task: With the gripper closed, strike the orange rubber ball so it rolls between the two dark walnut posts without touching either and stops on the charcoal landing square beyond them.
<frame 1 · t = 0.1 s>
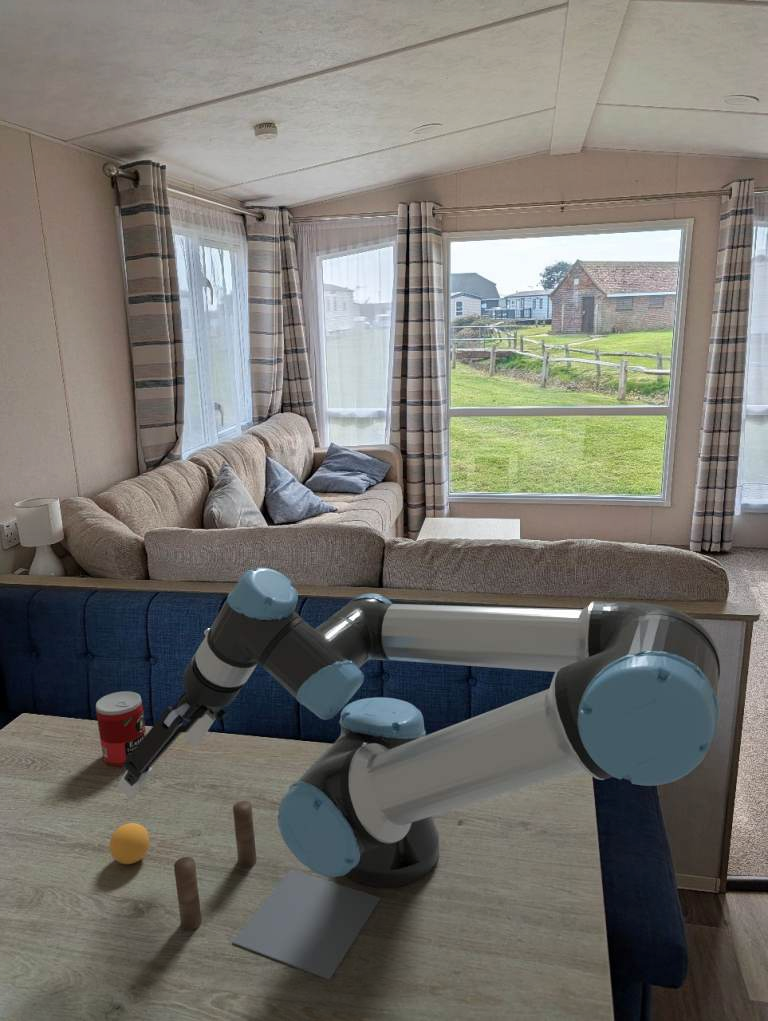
hand: (159, 764, 107), 15 cm above the table, tool tilted 35°, fingers open, 13 cm apart
canned food: (125, 756, 138), on the table
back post: (247, 860, 110), on the table
front post: (191, 922, 98), on the table
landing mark: (308, 920, 98), on the table
ball: (129, 843, 110), on the table
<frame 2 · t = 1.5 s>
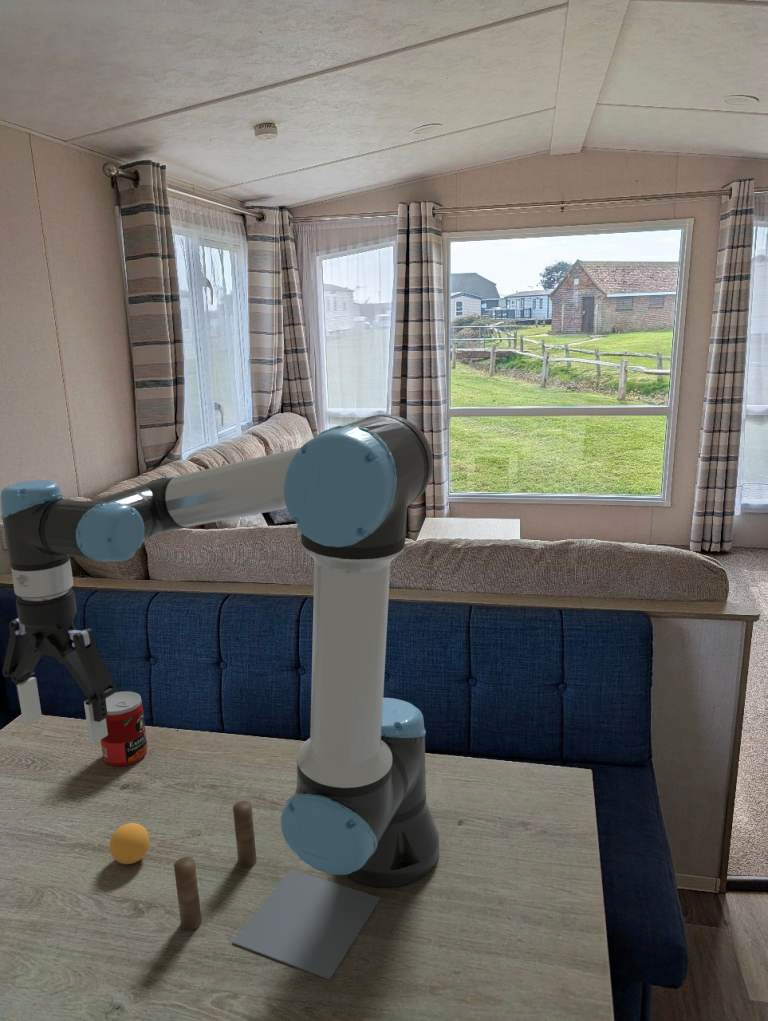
hand: (65, 730, 110), 19 cm above the table, tool pointing down, fingers open, 12 cm apart
nothing on the table moved.
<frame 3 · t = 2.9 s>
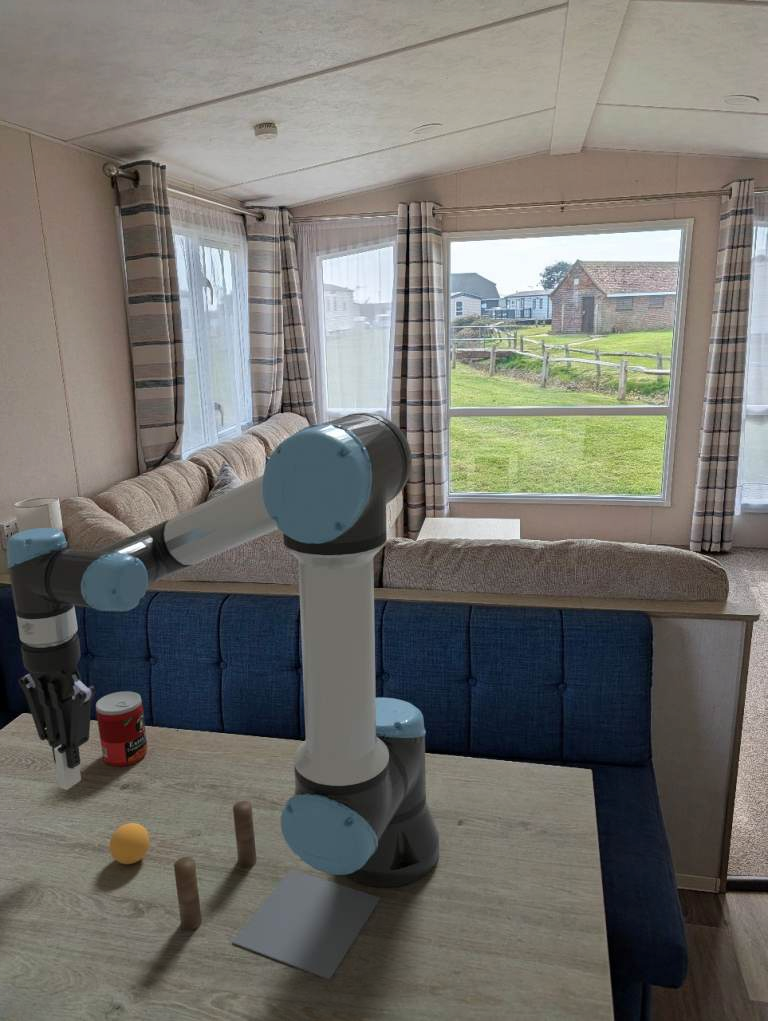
hand: (70, 783, 113), 10 cm above the table, tool pointing down, fingers closed
nothing on the table moved.
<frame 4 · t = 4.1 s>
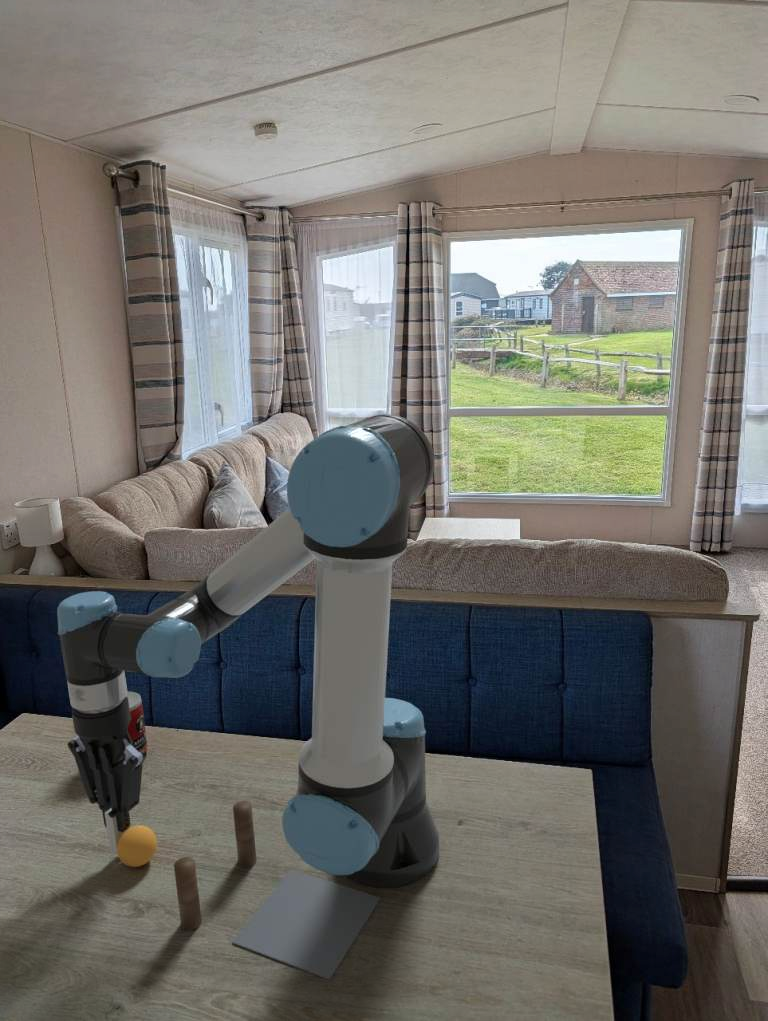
hand: (120, 846, 111), 2 cm above the table, tool pointing down, fingers closed
ball: (137, 845, 109), on the table, touching gripper
everything else where it was.
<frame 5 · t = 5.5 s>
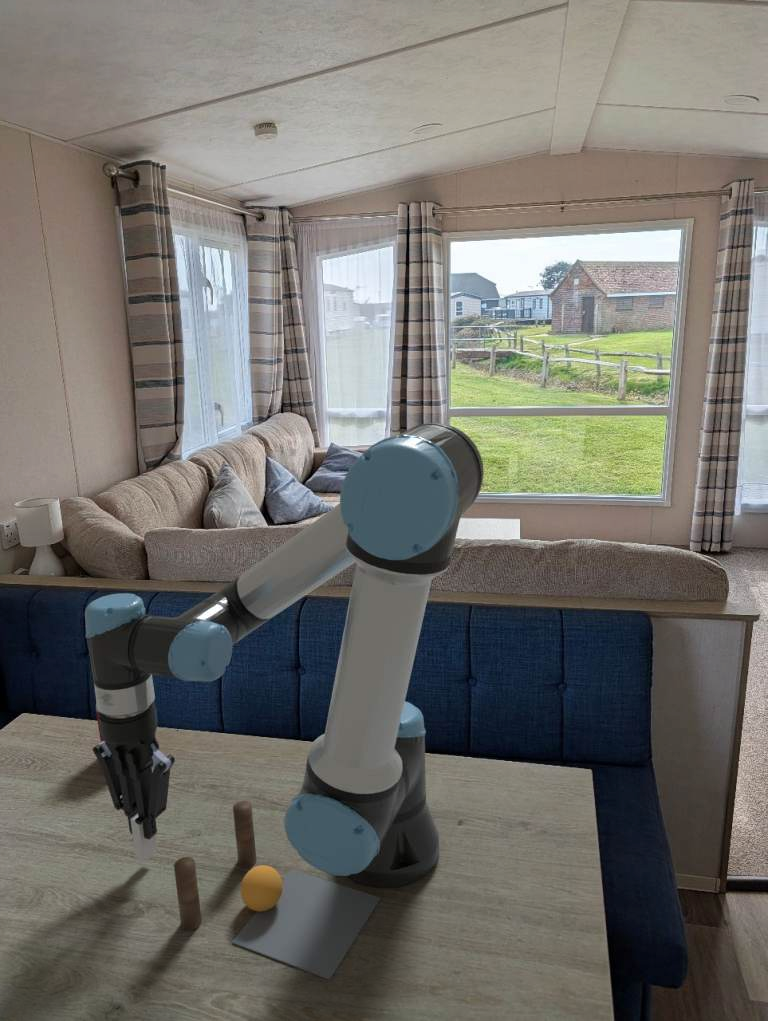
hand: (146, 853, 109), 2 cm above the table, tool pointing down, fingers closed
ball: (261, 888, 100), on the table
everything else where it was.
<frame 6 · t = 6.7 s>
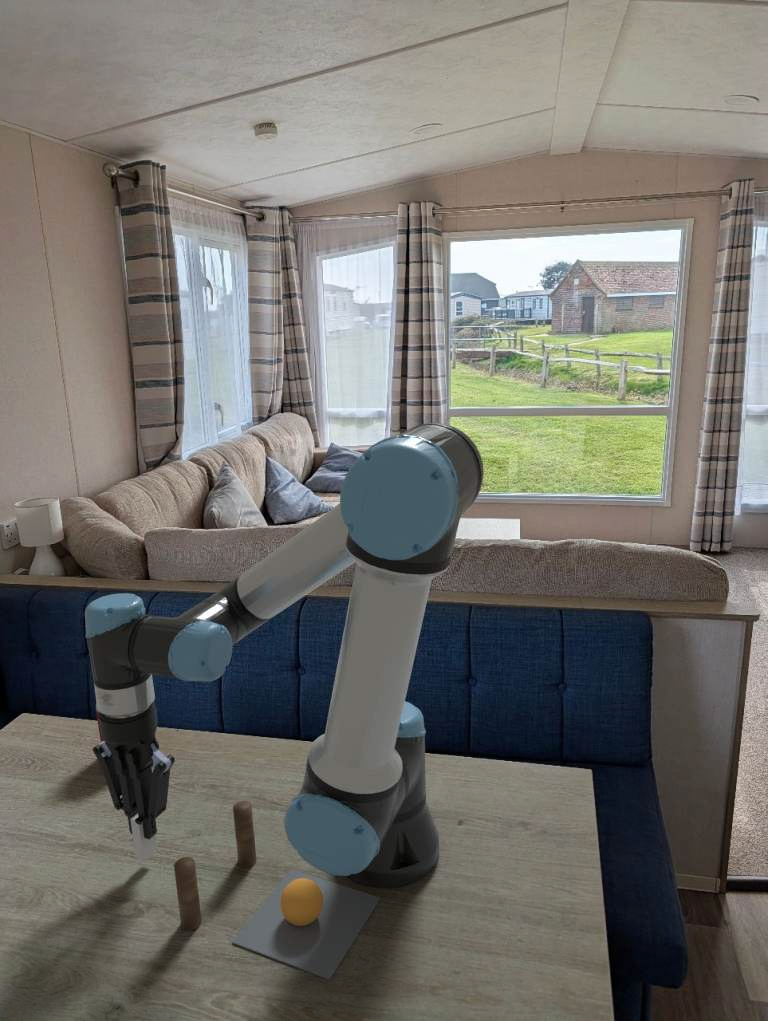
hand: (146, 853, 109), 2 cm above the table, tool pointing down, fingers closed
ball: (301, 901, 98), on the table
everything else where it was.
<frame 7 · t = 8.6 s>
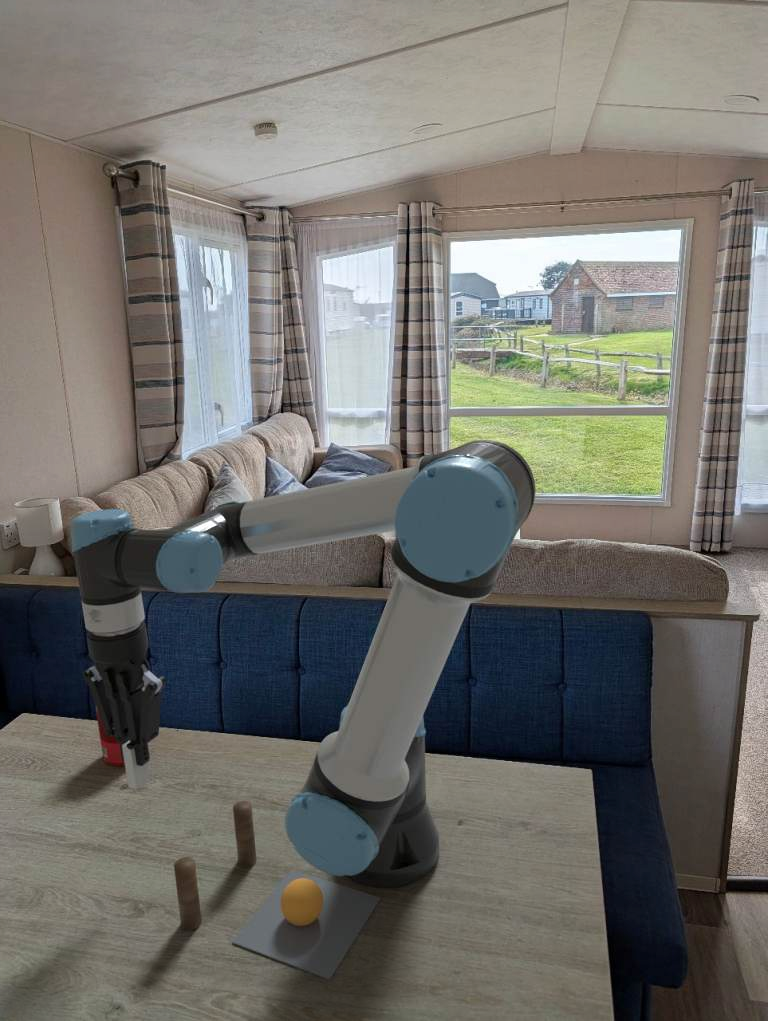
hand: (139, 782, 106), 14 cm above the table, tool pointing down, fingers closed
nothing on the table moved.
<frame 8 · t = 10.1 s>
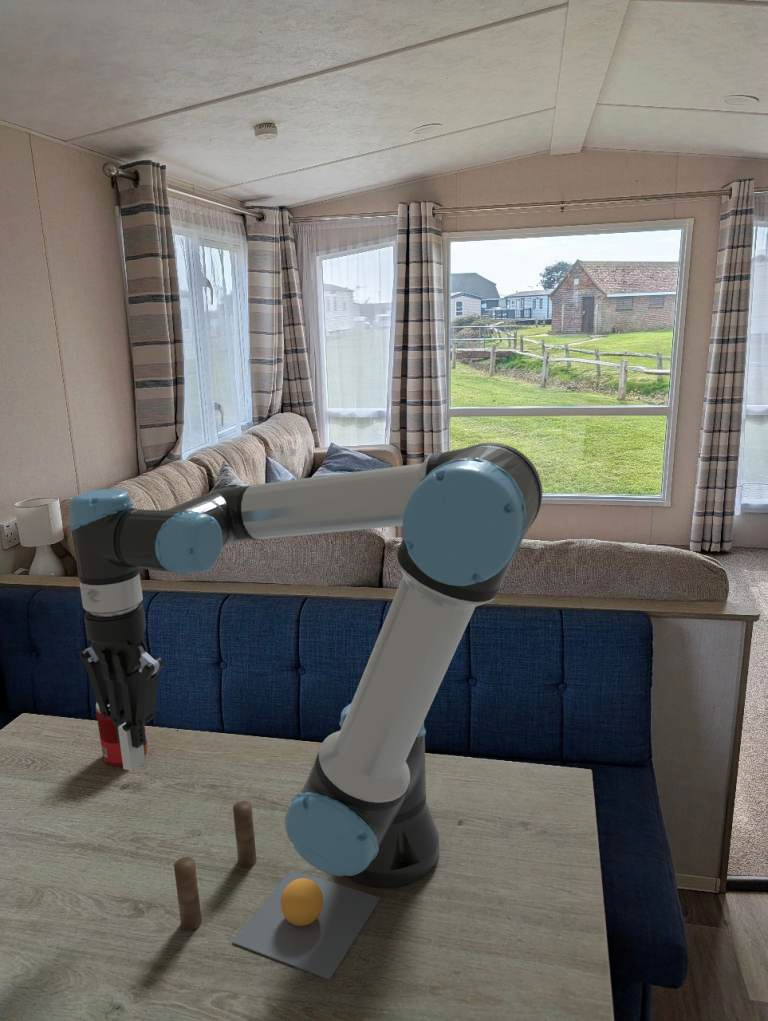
hand: (134, 764, 105), 16 cm above the table, tool pointing down, fingers closed
nothing on the table moved.
at the end: ball 0.7 cm from the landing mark (horizontally); ball never touched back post; ball never touched front post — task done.
